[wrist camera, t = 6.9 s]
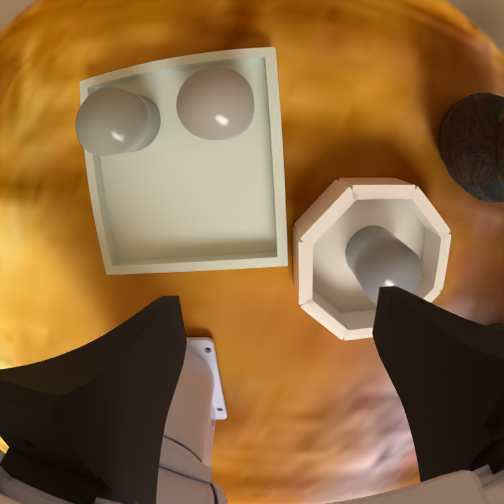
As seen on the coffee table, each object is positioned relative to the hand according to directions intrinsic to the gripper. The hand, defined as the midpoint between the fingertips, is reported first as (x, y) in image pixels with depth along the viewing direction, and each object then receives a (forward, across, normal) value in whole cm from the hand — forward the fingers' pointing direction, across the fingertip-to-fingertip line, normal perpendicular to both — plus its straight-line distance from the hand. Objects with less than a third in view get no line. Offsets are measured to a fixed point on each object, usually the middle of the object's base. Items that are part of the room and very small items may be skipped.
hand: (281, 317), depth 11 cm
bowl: (+10, -6, +1) cm, 12 cm away
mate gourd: (+10, -14, -6) cm, 19 cm away
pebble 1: (+9, +8, -8) cm, 14 cm away
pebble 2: (+9, +2, -8) cm, 12 cm away
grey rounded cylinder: (+9, -7, +1) cm, 11 cm away
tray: (+10, +5, -5) cm, 12 cm away
